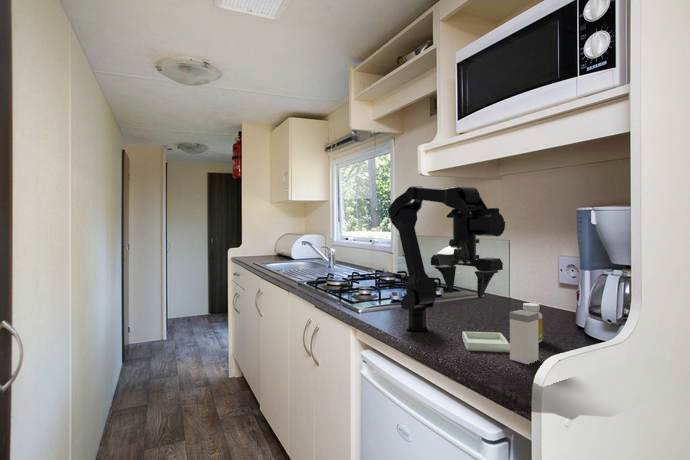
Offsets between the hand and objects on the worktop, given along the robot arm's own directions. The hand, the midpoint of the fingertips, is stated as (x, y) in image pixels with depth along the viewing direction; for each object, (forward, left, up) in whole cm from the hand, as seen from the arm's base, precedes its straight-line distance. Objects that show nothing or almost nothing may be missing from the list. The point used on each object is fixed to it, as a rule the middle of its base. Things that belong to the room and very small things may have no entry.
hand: (464, 295), depth 105 cm
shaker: (+10, +12, -13) cm, 20 cm away
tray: (0, +5, -13) cm, 14 cm away
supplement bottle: (-6, +18, -13) cm, 23 cm away
